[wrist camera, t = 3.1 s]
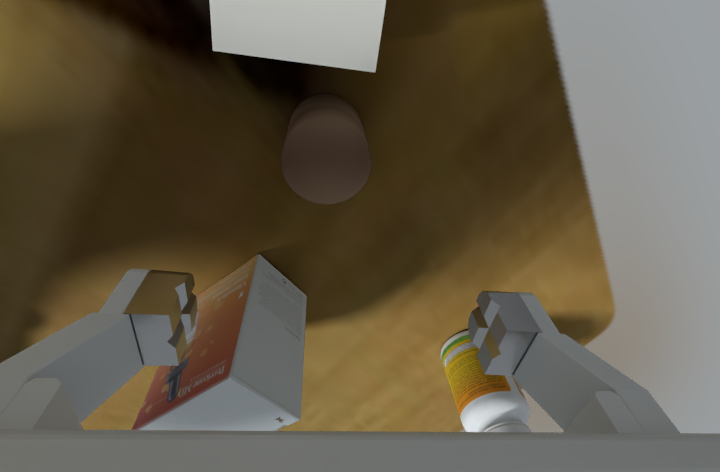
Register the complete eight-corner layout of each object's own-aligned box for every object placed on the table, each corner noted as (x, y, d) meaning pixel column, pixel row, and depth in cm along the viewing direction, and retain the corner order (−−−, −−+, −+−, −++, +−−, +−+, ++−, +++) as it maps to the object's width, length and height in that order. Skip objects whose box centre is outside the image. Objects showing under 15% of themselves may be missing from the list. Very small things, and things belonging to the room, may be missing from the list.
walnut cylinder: (357, 169, 25) (364, 207, 21) (287, 163, 24) (280, 200, 20) (367, 98, 22) (378, 125, 18) (289, 89, 22) (282, 114, 17)
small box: (259, 250, 28) (231, 374, 19) (309, 295, 30) (304, 421, 22) (183, 302, 30) (125, 435, 21) (235, 339, 32) (204, 470, 24)
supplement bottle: (428, 356, 36) (459, 465, 28) (464, 320, 34) (509, 427, 25) (470, 371, 38) (511, 477, 30) (508, 338, 35) (563, 443, 27)
